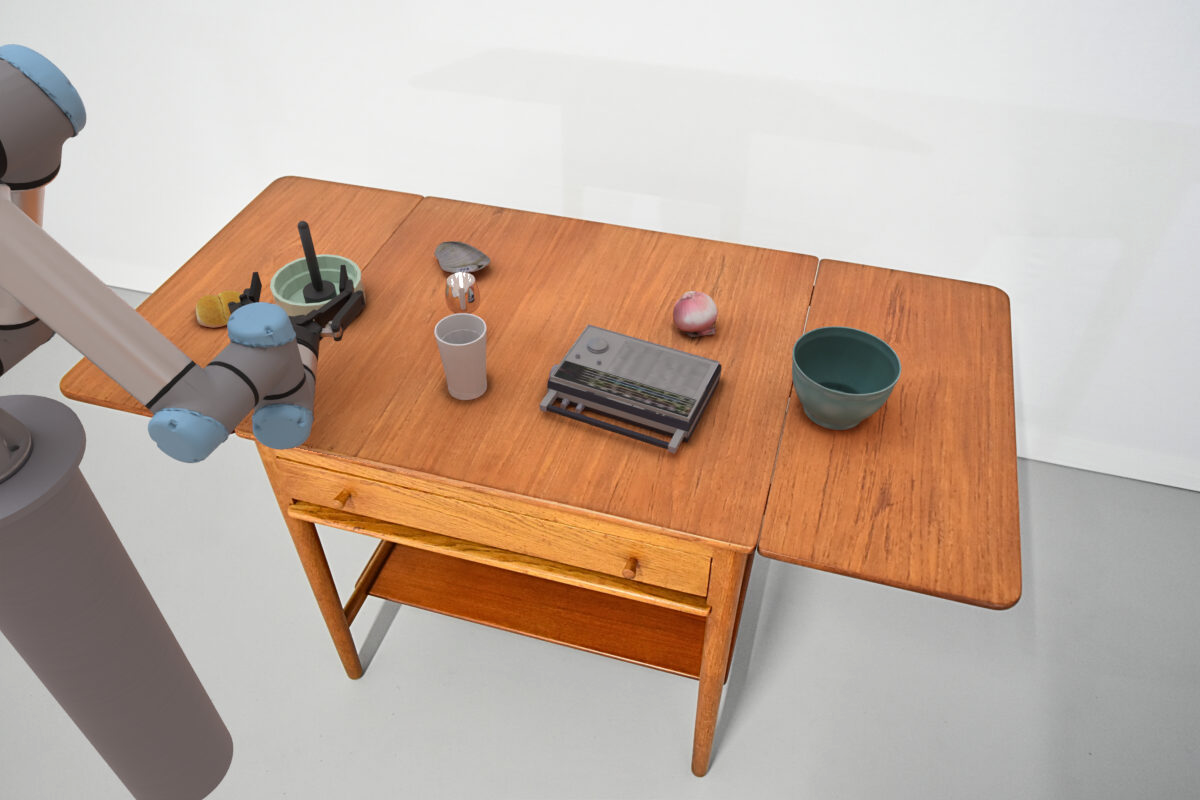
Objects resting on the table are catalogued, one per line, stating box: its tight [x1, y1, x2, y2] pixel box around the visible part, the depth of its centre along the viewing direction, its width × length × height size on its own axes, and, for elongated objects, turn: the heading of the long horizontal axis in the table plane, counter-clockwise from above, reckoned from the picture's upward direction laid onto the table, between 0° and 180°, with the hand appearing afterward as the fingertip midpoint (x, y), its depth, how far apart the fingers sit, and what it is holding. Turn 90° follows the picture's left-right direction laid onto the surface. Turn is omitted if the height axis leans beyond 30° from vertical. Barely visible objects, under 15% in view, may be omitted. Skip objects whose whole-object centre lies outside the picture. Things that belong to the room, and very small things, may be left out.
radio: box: [538, 324, 722, 454], centre depth 143 cm, size 24×5×20 cm
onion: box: [672, 290, 719, 338], centre depth 155 cm, size 8×8×7 cm
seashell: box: [433, 240, 492, 274], centre depth 168 cm, size 12×8×5 cm
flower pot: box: [791, 325, 902, 431], centre depth 139 cm, size 16×16×11 cm
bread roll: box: [195, 290, 242, 329], centre depth 158 cm, size 8×9×4 cm
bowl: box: [269, 253, 367, 328], centre depth 159 cm, size 15×15×6 cm
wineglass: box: [444, 272, 481, 314], centre depth 151 cm, size 6×6×12 cm
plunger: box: [297, 220, 337, 304], centre depth 155 cm, size 6×6×17 cm
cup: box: [433, 313, 488, 401], centre depth 142 cm, size 8×8×12 cm
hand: (301, 275), depth 144 cm, fingers open, 13 cm apart
